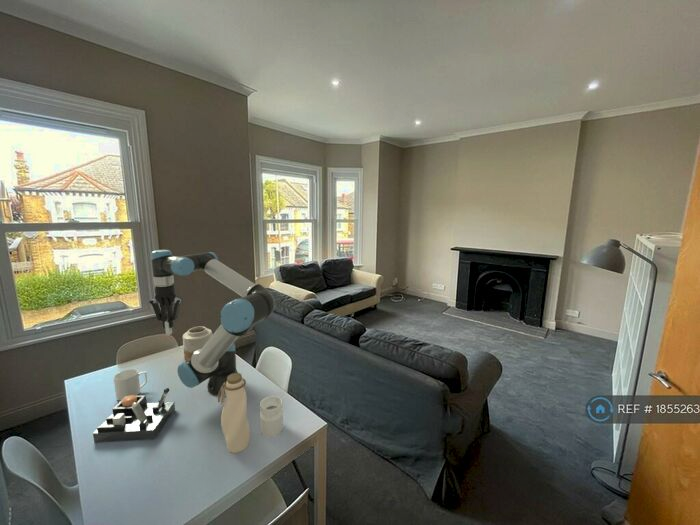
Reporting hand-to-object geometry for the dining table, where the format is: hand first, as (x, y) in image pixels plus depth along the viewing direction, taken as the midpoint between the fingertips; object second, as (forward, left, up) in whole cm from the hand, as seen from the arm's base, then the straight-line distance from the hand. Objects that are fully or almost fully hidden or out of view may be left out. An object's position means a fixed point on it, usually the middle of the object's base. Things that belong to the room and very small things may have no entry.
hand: (169, 334), depth 131 cm
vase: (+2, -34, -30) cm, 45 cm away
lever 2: (-3, +17, -24) cm, 30 cm away
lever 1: (-1, +26, -24) cm, 35 cm away
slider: (+8, +26, -25) cm, 37 cm away
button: (+9, +17, -25) cm, 31 cm away
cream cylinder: (-50, +28, -30) cm, 65 cm away
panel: (+4, +22, -29) cm, 37 cm away
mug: (+18, +1, -30) cm, 35 cm away
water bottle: (-38, +35, -30) cm, 60 cm away
